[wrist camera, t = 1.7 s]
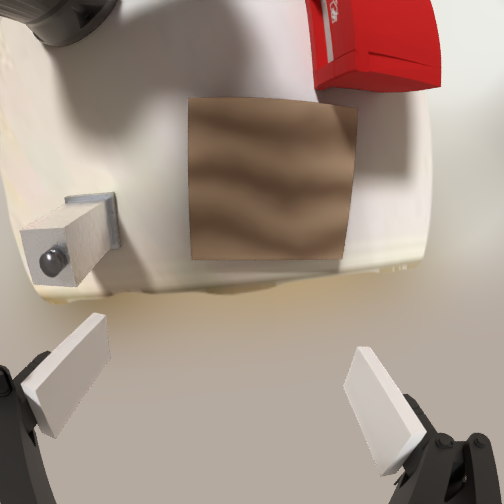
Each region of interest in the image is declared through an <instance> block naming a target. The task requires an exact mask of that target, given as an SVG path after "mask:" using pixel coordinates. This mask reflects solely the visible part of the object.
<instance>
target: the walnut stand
mask: <svg viewBox="0 0 504 504" xmlns="http://www.w3.org/2000/svg"><path fill="white" fill-rule="evenodd" d="M357 116H358V109H356V108H351V107H344V106H338V105H331V104H324V103H316V102H307V101H297V100H286V99H271V98H250V97H203V98H189V105H188V187H189V218H190V239H191V256H192V260H324V259H342V258H343V252H344V246H345V239H346V232H347V225H348V218H349V210H350V202H351V193H352V184H353V174H354V163H355V150H356V135H357Z"/></svg>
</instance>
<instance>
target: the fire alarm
mask: <svg viewBox="0 0 504 504" xmlns="http://www.w3.org/2000/svg"><path fill="white" fill-rule="evenodd" d="M305 3H306V8H307V15H308V23H309V32H310V42H311V52H312V63H313V75H314V76H313V77H314V89H316V90H325V89H327V88H330V87H337V88H349V89H358V90H367V91H374V92H381V93H384V92H409V91H419V90H425V89H431V88H437V87H441V50H440V42H439V35H438V30H437V24H436V20H435V15H434V11H433V7H432V4H431V1H430V0H305Z"/></svg>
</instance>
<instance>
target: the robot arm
mask: <svg viewBox="0 0 504 504" xmlns="http://www.w3.org/2000/svg"><path fill="white" fill-rule="evenodd" d="M116 1H117V0H0V16H2V17H6V18H9V19H12V20H15V21H18V22H21V23H24V24H26V25H27V26H28V28H29V29H30V30H31V31H33V34H34V36H35V37H36V38H37V39H38V40H39V41H40V42H42V43H44V44H47V45H50V46H55V47H61V46H66V45H69V44H72V43H74V42H77V41H79V40H80V39H82V38H84V37H85V36H87V35H88V34H89V33H91V32H92V31H93V30H94V29H96V28H97V27H98V26H99V25H100V24H101V23H102V22H103V21H104V20H105V18H106V17H107V16H108V15H109V13H110V12H111V10H112V9H113V7H114V5H115V3H116ZM109 360H110V350H109V341H108V332H107V321H106V315H102V314H98V313H93V314H92V315H91V316H90V317H89V318H87V319H86V320H85V321H84V322H83V323H82V324H81V325H80V326H79V327H78V328H77V329H76V330H74V331H73V332H72V333H71V334H70V335H69V336H68V337H67V338H66V339H65V340H64V341H63V342H62V343H61V344H60V345H59V346H58V347H57V348H56V349H55V350H54V351H53V352H49V351H46V352H43V353H41V354H39V355H38V356H37V357H36V358H35V359H34V360H33V361H32V362H30V363H29V364H28V366H27V367H25V368H24V369H23V370H22V371H21V372H20V373H19V374H18V375H17V376H16V377H15V378H14V379H13V380H12V378H11V375H10V372H9V370H8V369H7V368H6V367H5V366H2V365H0V503H1V504H56V501H55V499H54V496H53V493H52V490H51V488H50V485H49V481H48V479H47V475H46V472H45V468H44V465H43V461H42V458H41V454H40V450H39V446H38V442H37V437H36V433H35V431H34V427H35V426H36V424H38V426H39V428H40V430H41V432H42V433H44V434H46V435H48V436H50V437H52V438H55V439H56V438H57V436H58V435H59V433H60V431H61V430H62V428H63V427H64V425H65V424H66V422H67V421H68V419H69V418H70V416H71V415H72V413H73V412H74V410H75V409H76V407H77V406H78V404H79V403H80V401H81V399H82V398H83V397H84V395H85V394H86V393H87V391H88V390H89V388H90V387H91V385H92V384H93V382H94V381H95V379H96V378H97V377H98V375H99V374H100V372H101V371H102V369H103V368H104V367H105V365H106V364H107V363H108V361H109ZM343 388H344V391H345V393H346V395H347V398H348V400H349V402H350V404H351V407H352V409H353V411H354V414H355V416H356V418H357V421H358V423H359V425H360V427H361V430H362V432H363V435H364V437H365V439H366V442H367V444H368V446H369V449H370V451H371V454H372V456H373V458H374V461H375V463H376V466H377V468H378V471H379V473H380V476H386V475H391V474H395V473H396V472H397V471H398V470H399V469H400V468H401V466H402V465H403V467H404V469H405V472H404V473H403V474H402V475H401V476H400V477H399V479H398V480H397V481H396V482H395V483H394V485H396V484H397V483H398V482H399V483H398V485H397V487H396V489H395V491H394V494H393V496H392V498H391V500H390V502H389V504H502V503H501V494H500V487H499V481H498V475H497V469H496V464H495V460H494V455H493V451H492V446H491V442H490V440H489V439H488V438H487V437H486V436H485V435H484V434H481V433H473V434H472V435H470V437H469V438H468V440H467V441H457V442H456V441H454V440H453V438H452V437H451V436H449V435H447V434H445V433H437V431H436V430H435V429H434V427H433V425H432V424H431V422H430V421H429V419H428V418H427V417H426V415H425V414H424V412H423V411H422V409H421V408H420V406H419V405H418V404H417V402H416V401H415V400H414V399H413V398H412V397H410V396H409V395H408V394H401V392H400V390H399V389H398V387H397V386H396V384H395V383H394V381H393V380H392V379H391V377H390V375H389V374H388V373H387V371H386V370H385V368H384V367H383V365H382V364H381V362H380V361H379V359H378V358H377V357H376V355H375V354H374V352H373V351H372V350H371V348H370V347H357V349H356V352H355V355H354V358H353V361H352V364H351V366H350V369H349V372H348V375H347V377H346V380H345V383H344V385H343ZM465 477H466V478H465Z"/></svg>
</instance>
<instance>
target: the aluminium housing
mask: <svg viewBox="0 0 504 504" xmlns="http://www.w3.org/2000/svg"><path fill="white" fill-rule="evenodd" d="M20 234H21V238H22V243H23V247H24V251H25V255H26V259H27V263H28V267H29V270H30V274H31V277H32V280H33V284H35V285H49V286H65V287H77V286H78V285H79V284H80V283H81V281H82V280H83V279H84V278H85V277H86V276H87V274H88V273H89V272H90V271H91V270H92V269H93V267H94V266H95V265H96V264H97V263H98V262H99V261H100V259H101V258H102V257H103V256H104V255H105V254H106V253H107V252H108V251H109V249H119V248H120V247H121V246H120V239H119V231H118V223H117V215H116V205H115V194H114V192H109V193H96V194H84V195H73V196H67V197H65V204H64V205H62V206H60V207H58V208H56V209H55V210H53V211H51V212H49V213H47V214H46V215H44V216H42V217H41V218H39V219H37V220H35V221H34V222H32V223H30V224H29V225H27V226H26V227H24V228H22V229H21V230H20Z"/></svg>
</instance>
